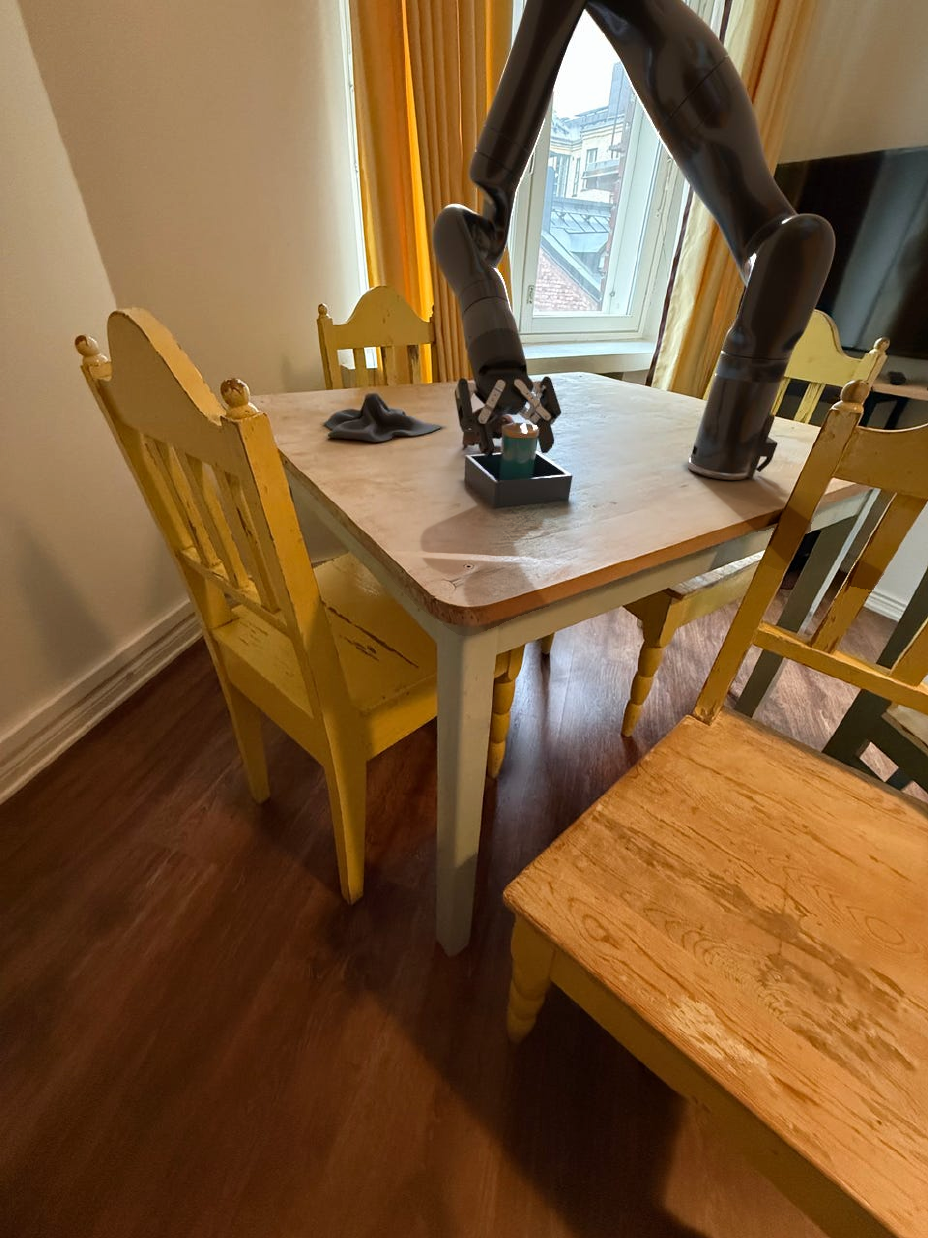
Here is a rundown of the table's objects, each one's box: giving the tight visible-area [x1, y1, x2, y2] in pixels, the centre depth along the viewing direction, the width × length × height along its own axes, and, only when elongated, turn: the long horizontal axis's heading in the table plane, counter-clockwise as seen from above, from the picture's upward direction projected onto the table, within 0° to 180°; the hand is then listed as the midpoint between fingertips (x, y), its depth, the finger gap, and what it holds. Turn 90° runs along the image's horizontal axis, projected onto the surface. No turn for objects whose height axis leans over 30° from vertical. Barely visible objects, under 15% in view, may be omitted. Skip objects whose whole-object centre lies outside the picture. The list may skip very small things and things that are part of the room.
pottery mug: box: [460, 406, 516, 448], centre depth 89 cm, size 12×10×8 cm
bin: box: [464, 450, 573, 510], centre depth 73 cm, size 11×11×4 cm
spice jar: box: [498, 422, 539, 481], centre depth 71 cm, size 5×5×8 cm
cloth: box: [323, 392, 443, 443], centre depth 97 cm, size 22×19×6 cm
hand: (519, 452), depth 70 cm, fingers open, 8 cm apart
